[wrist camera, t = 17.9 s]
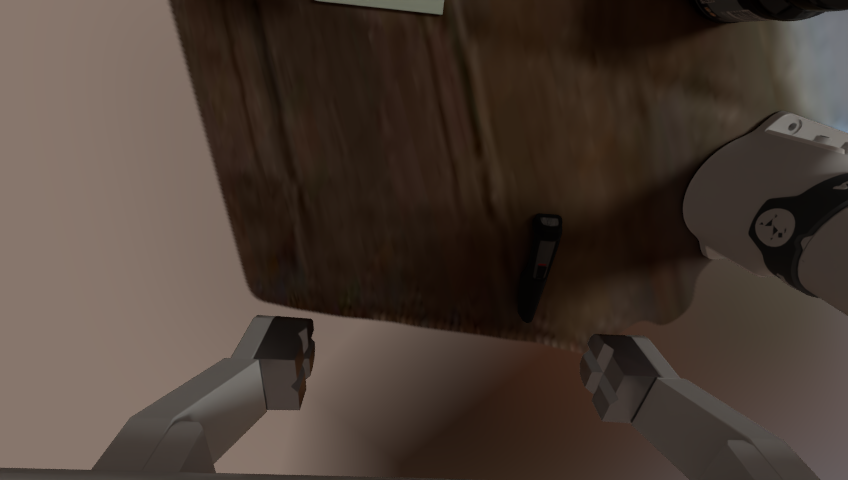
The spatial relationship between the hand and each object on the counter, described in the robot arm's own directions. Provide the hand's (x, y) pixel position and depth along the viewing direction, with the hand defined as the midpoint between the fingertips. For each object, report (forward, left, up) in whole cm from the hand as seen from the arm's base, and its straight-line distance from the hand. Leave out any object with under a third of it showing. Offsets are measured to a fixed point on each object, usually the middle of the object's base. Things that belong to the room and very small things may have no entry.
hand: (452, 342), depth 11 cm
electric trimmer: (-17, +18, -34) cm, 42 cm away
